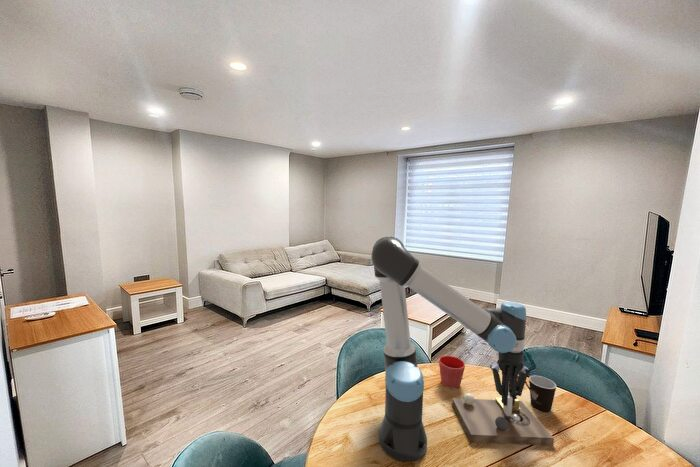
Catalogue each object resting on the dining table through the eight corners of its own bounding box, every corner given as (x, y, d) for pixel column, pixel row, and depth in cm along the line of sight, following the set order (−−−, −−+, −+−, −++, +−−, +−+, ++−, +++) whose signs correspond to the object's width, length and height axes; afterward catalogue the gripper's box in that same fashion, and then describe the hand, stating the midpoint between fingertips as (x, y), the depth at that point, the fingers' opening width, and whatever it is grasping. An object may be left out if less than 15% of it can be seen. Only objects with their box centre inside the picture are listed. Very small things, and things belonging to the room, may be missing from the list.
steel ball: (510, 423, 97) (517, 416, 97) (505, 416, 101) (512, 409, 100) (518, 429, 97) (525, 422, 97) (512, 422, 101) (519, 415, 100)
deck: (470, 441, 91) (471, 434, 90) (452, 404, 109) (452, 398, 108) (553, 445, 90) (553, 438, 90) (520, 407, 108) (521, 400, 108)
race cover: (503, 410, 102) (503, 400, 101) (495, 399, 108) (495, 389, 107) (520, 411, 101) (520, 400, 101) (511, 400, 107) (511, 390, 107)
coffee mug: (559, 416, 103) (561, 390, 102) (533, 412, 105) (534, 387, 104) (544, 396, 114) (545, 372, 114) (520, 393, 116) (522, 370, 115)
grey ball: (498, 433, 91) (498, 421, 91) (492, 424, 95) (493, 413, 95) (510, 433, 91) (510, 422, 91) (504, 424, 95) (504, 414, 95)
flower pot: (466, 381, 124) (467, 359, 124) (461, 394, 115) (462, 371, 114) (441, 373, 130) (442, 353, 129) (435, 385, 121) (435, 363, 120)
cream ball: (465, 407, 103) (465, 397, 103) (461, 400, 107) (462, 390, 107) (475, 407, 103) (476, 397, 103) (471, 400, 107) (472, 391, 107)
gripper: (497, 352, 94) (493, 420, 95) (537, 353, 93) (532, 421, 95) (487, 342, 101) (483, 405, 103) (524, 343, 101) (520, 406, 102)
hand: (507, 413), depth 99 cm, fingers closed
